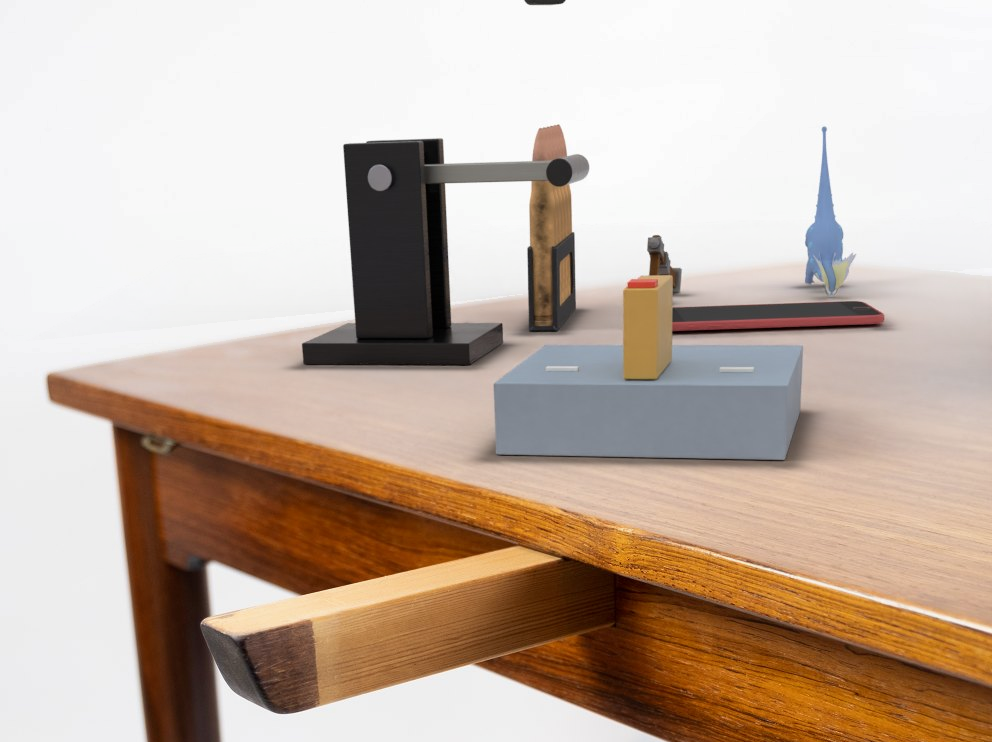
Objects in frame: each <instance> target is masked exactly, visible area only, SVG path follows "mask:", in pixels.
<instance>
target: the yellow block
mask: <svg viewBox="0 0 992 742" xmlns="http://www.w3.org/2000/svg"><path fill="white" fill-rule="evenodd" d="M622 291H623V292H622V302H623V303H622V316H623V317H622V336H623V337H622V341H623V343H622V345H623V378H624V379H652V380H656V379H657V378H658V377H659V376H660V374H661V373H662V372H663V371H664V369H665V368H666V367H667V366H668V364H669V363H670V362H671V360H672V345H673V331H672V307H673V304H674V303H673V301H674V300H673V299H674V298H673V294H674V293H673V276H671V275H653V276H649V275H640V276H639V277H637V278H631V279H630V280H629V281H627V286H625V288H624V289H623V290H622Z"/></svg>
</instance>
